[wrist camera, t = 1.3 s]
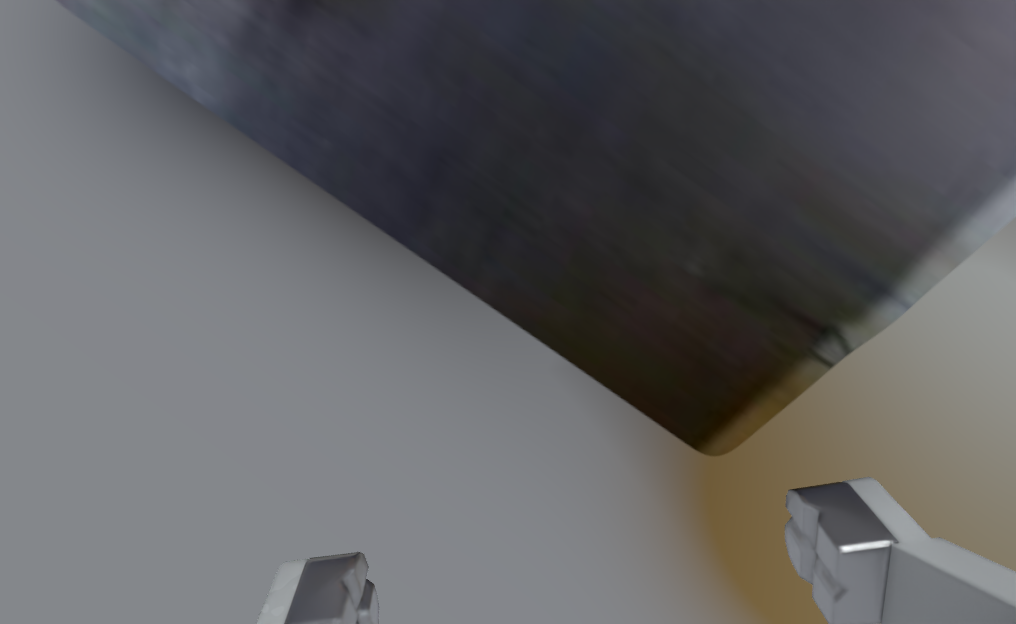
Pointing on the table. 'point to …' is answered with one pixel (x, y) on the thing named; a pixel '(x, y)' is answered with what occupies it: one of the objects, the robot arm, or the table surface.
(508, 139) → the table surface
